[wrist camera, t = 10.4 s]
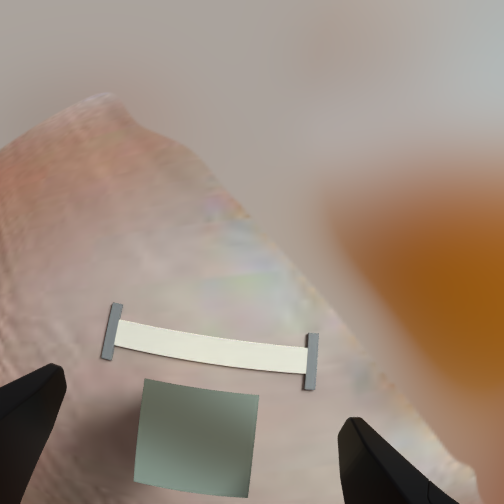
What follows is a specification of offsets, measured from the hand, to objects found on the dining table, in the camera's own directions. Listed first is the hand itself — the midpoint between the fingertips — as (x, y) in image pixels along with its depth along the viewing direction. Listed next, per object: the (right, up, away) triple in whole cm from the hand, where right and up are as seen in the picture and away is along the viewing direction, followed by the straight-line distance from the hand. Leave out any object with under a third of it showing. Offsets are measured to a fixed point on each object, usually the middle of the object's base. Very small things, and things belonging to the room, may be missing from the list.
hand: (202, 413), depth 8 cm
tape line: (-2, -2, +14) cm, 14 cm away
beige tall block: (-2, -7, +12) cm, 14 cm away
